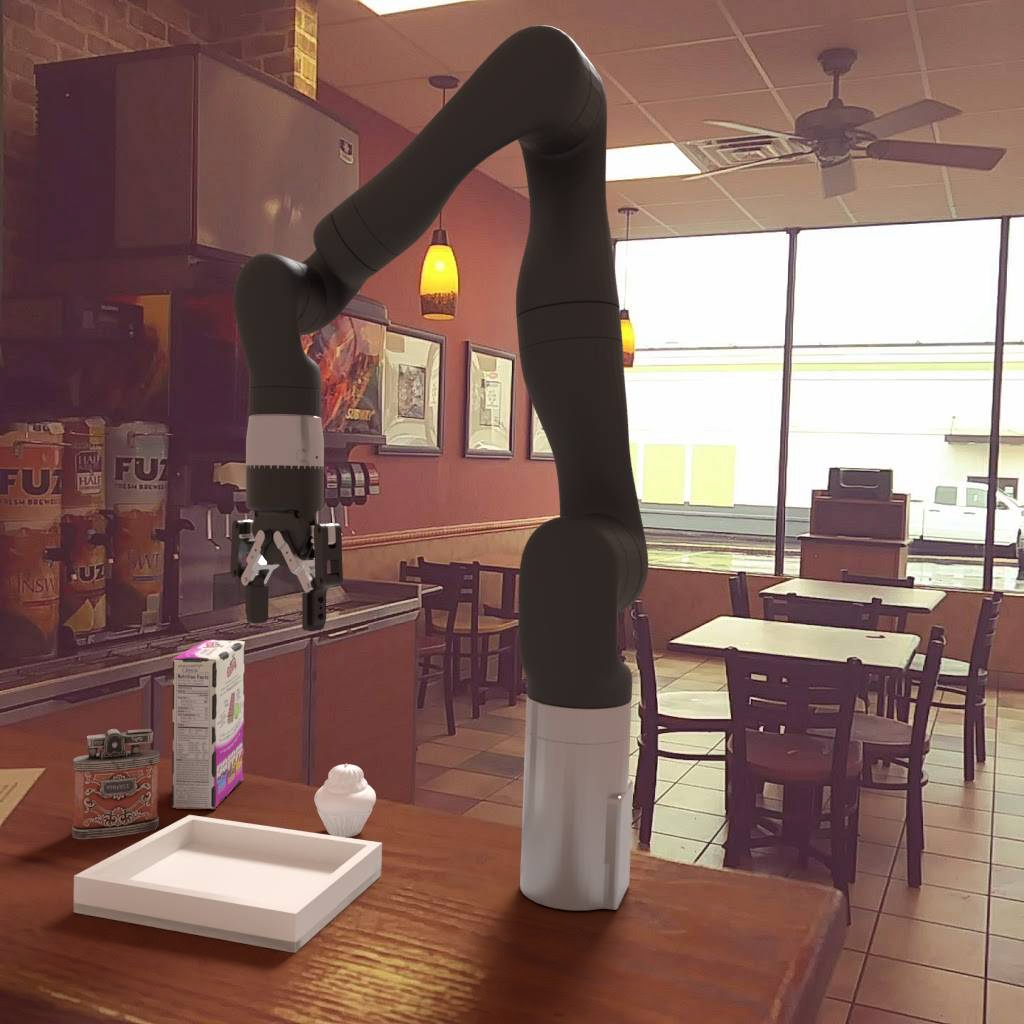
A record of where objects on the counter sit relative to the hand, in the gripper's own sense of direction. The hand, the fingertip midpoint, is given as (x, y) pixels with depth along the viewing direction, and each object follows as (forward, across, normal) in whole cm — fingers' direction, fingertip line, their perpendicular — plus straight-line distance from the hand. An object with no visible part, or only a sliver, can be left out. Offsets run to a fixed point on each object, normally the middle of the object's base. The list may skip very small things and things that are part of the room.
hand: (284, 626), depth 103 cm
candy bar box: (+21, +16, -2) cm, 26 cm away
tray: (+21, -8, +12) cm, 25 cm away
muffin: (+21, -4, -5) cm, 22 cm away
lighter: (+21, +13, +11) cm, 26 cm away
